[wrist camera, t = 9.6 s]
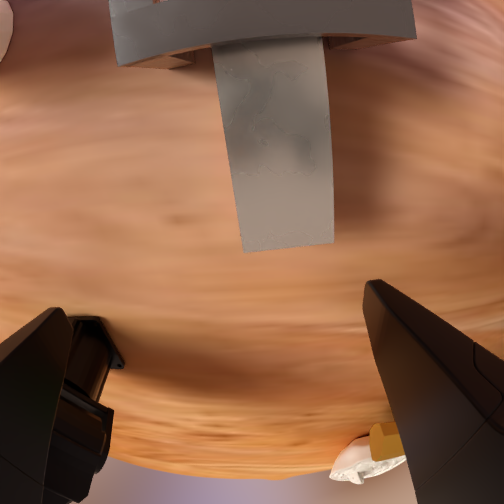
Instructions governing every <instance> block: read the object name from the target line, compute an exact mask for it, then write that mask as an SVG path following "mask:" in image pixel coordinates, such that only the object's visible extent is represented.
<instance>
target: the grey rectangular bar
mask: <svg viewBox="0 0 504 504" xmlns="http://www.w3.org/2000/svg"><path fill="white" fill-rule="evenodd" d="M211 49H212V55H213V62H214V69H215V75H216V82H217V88H218V95H219V101H220V108H221V114H222V121H223V127H224V133H225V140H226V146H227V152H228V159H229V165H230V171H231V178H232V184H233V190H234V196H235V202H236V209H237V215H238V221H239V227H240V233H241V239H242V245H243V252H244V253H248V252H257V251H265V250H274V249H283V248H292V247H301V246H310V245H319V244H328V243H334V188H333V161H332V142H331V126H330V112H329V100H328V88H327V78H326V68H325V59H324V51H323V43H322V36H320V37H292V38H277V39H266V40H256V41H247V42H240V43H232V44H226V45H219V46H213V47H211Z"/></svg>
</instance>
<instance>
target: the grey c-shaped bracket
mask: <svg viewBox="0 0 504 504" xmlns="http://www.w3.org/2000/svg"><path fill="white" fill-rule="evenodd" d="M109 9H110V18H111V25H112V33H113V40H114V47H115V53H116V59H117V65H118V67H142V68H158V69H171V68H175V67H180V66H184V65H189V64H194V63H195V57H194V51H193V50H197V49H202V48H208V47H213V46H219V45H226V44H232V43H240V42H247V41H256V40H266V39H277V38H292V37H320V36H328V42H329V49H352V50H357V49H362V48H366V47H371V46H377V45H382V44H387V43H393V42H399V41H406V40H413V39H417V36H416V28H415V21H414V14H413V8H412V2H411V0H167V1H163V2H160V1H159V0H109Z"/></svg>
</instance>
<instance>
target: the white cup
mask: <svg viewBox="0 0 504 504" xmlns="http://www.w3.org/2000/svg"><path fill="white" fill-rule="evenodd" d="M12 33H13V12H12V10H11V7H10V5H9V2H8V1H6V0H0V62H1V60H2V59H3V57H4V55H5V54H6V52H7V49H8V45H9V42H10V39H11V36H12Z"/></svg>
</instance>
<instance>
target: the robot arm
mask: <svg viewBox="0 0 504 504" xmlns="http://www.w3.org/2000/svg"><path fill="white" fill-rule="evenodd" d="M363 314H364V318H365V322H366V326H367V330H368V334H369V338H370V342H371V347H372V351H373V355H374V359H375V362H376V365H377V368H378V371H379V374H380V377H381V380H382V383H383V386H384V388H385V391H386V394H387V397H388V400H389V404H390V407H391V410H392V413H393V416H394V419H395V422H396V426H397V429H398V432H399V435H400V439H401V442H402V446H403V449H404V452H405V456H406V460H407V463H408V467H409V470H410V474H411V477H412V482H413V485H414V489H415V494H416V498H417V502H418V504H504V361H503V360H502V359H500V358H498V357H497V356H496V355H494V354H493V353H491V352H490V351H488V350H487V349H485V348H484V347H482V346H481V345H479V344H478V343H477V342H474V341H473V340H472V339H471V338H469V337H468V336H466V335H465V334H463V333H462V332H461V331H459V330H458V329H456V328H455V327H453V326H452V325H450V324H449V323H447V322H446V321H444V320H443V319H441V318H440V317H438V316H437V315H435V314H434V313H432V312H431V311H429V310H428V309H426V308H425V307H423V306H422V305H420V304H419V303H417V302H416V301H414V300H413V299H411V298H410V297H408V296H406V295H405V294H403V293H402V292H400V291H399V290H397V289H396V288H394V287H393V286H391V285H389V284H388V283H386V282H385V281H383V280H381V279H376V280H369V281H367V282H366V284H365V290H364V298H363ZM124 366H125V362H124V360H123V359H122V357H121V355H120V354H119V352H118V350H117V349H116V347H115V345H114V343H113V342H112V340H111V338H110V336H109V334H108V333H107V331H106V329H105V327H104V325H103V323H102V322H101V320H100V319H99V318H97V317H67V316H66V314H65V313H64V311H63V309H62V308H60V307H51V308H48V309H47V310H46V311H44V312H43V313H41V314H40V315H39V316H37V317H36V318H34V319H33V320H32V321H30V322H29V323H28V324H26V325H25V326H23V327H22V328H21V329H19V330H18V331H17V332H15V333H14V334H13V335H11V336H10V337H9V338H7V339H6V340H5V341H3V342H2V343H1V344H0V504H69V503H71V502H72V501H74V502H76V503H80V502H81V501H82V500H83V499H84V498H86V497H87V496H88V493H89V489H90V485H91V482H92V478H93V475H94V474H97V473H98V472H99V471H100V470H101V469H102V467H103V465H104V464H105V461H106V459H107V456H108V453H109V449H110V441H111V432H112V424H113V416H114V410H113V409H111V408H109V407H108V408H107V407H105V406H103V405H102V404H100V403H98V402H99V399H100V396H101V393H102V390H103V387H104V384H105V382H106V379H107V376H108V373H109V370H110V369H123V368H124Z"/></svg>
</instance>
